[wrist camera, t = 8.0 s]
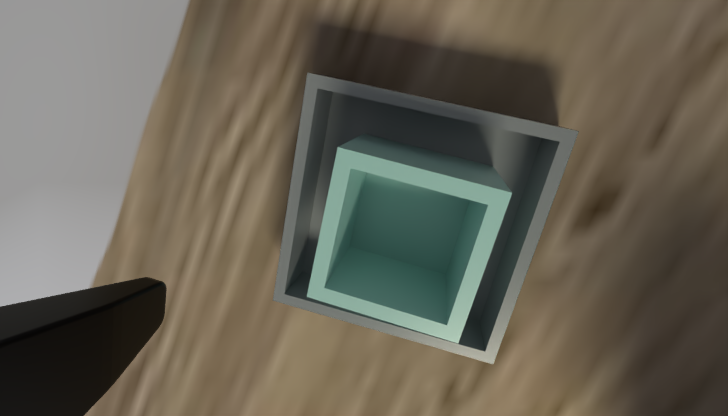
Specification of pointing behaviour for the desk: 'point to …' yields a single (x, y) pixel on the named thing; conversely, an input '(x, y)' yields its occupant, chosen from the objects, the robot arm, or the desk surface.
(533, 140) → the grey square tray
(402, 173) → the teal crate
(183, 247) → the desk surface
